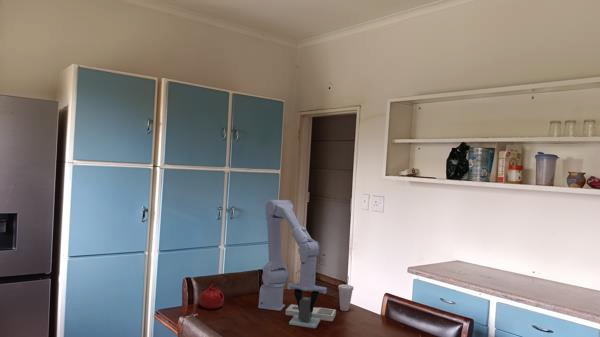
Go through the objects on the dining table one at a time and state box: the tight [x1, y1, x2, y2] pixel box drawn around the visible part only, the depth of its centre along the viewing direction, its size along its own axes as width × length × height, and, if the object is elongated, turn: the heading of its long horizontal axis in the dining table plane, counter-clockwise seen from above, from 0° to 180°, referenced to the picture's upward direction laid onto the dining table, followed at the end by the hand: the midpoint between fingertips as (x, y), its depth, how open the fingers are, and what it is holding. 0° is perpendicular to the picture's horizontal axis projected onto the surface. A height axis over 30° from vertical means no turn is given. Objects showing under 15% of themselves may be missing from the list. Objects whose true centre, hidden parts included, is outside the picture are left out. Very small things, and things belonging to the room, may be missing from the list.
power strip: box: [285, 303, 337, 322], centre depth 173 cm, size 18×9×2 cm, turn 77°
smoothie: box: [338, 275, 355, 312], centre depth 183 cm, size 6×6×14 cm
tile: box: [288, 315, 321, 329], centre depth 163 cm, size 10×9×1 cm
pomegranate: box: [199, 283, 225, 310], centre depth 175 cm, size 10×10×9 cm
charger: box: [298, 296, 312, 321], centre depth 163 cm, size 4×6×7 cm
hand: (305, 310), depth 163 cm, fingers closed on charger, 4 cm apart
